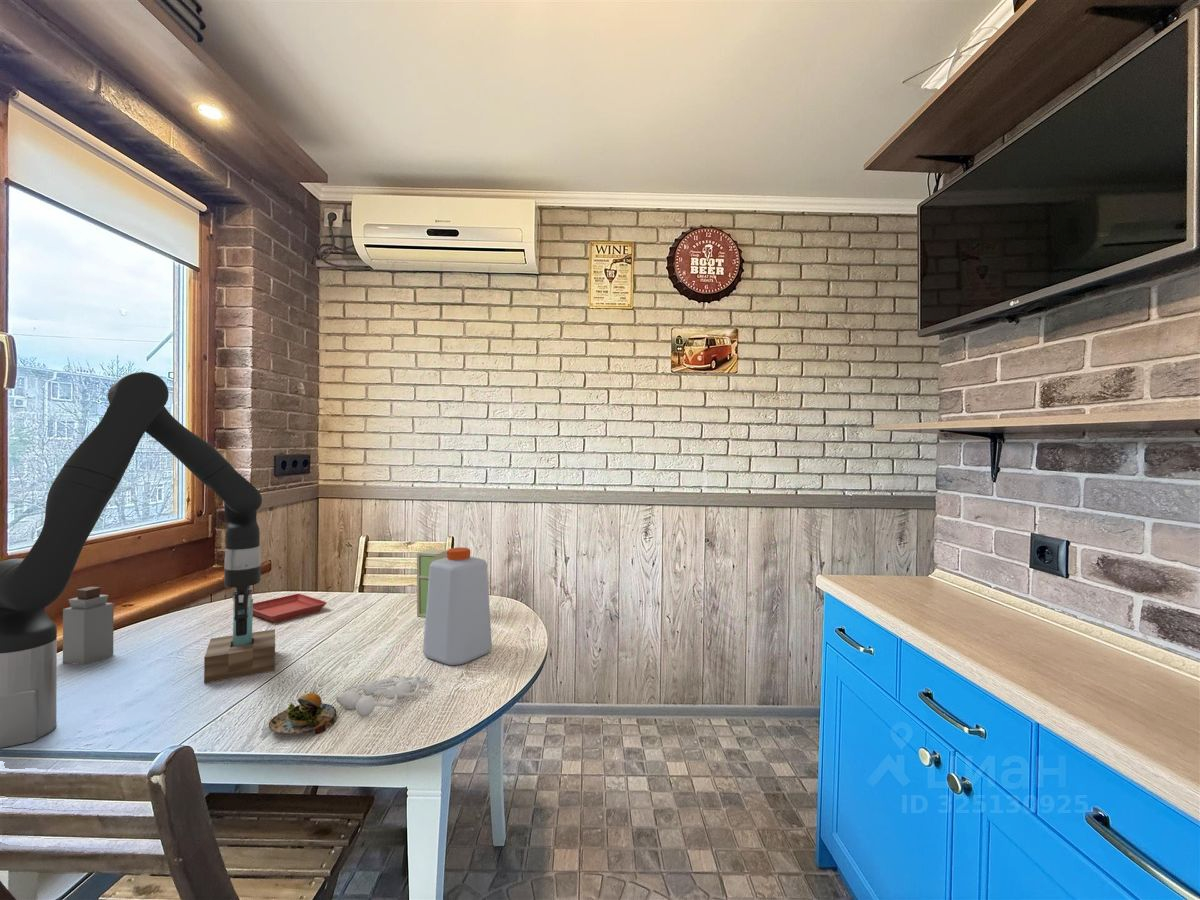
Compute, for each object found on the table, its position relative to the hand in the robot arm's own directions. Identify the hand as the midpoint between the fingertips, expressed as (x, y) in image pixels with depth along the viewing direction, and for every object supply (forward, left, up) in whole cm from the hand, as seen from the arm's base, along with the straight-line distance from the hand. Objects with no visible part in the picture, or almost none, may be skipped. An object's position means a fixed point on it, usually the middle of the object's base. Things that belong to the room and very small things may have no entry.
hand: (242, 629), depth 134 cm
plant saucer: (+44, -10, -10) cm, 46 cm away
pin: (0, 0, -8) cm, 8 cm away
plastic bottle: (-18, -49, -9) cm, 53 cm away
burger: (-39, -12, -10) cm, 42 cm away
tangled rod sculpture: (-34, -27, -10) cm, 45 cm away
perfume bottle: (+25, +34, -9) cm, 43 cm away
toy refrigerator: (+18, -51, -9) cm, 55 cm away
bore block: (0, 0, -9) cm, 9 cm away
